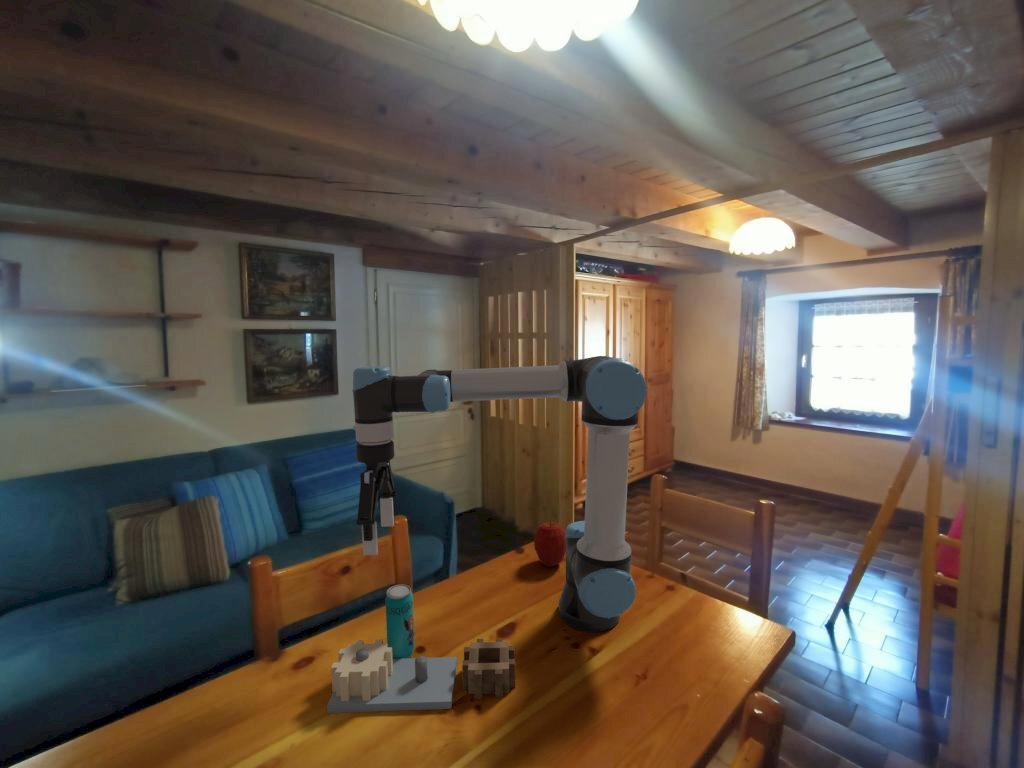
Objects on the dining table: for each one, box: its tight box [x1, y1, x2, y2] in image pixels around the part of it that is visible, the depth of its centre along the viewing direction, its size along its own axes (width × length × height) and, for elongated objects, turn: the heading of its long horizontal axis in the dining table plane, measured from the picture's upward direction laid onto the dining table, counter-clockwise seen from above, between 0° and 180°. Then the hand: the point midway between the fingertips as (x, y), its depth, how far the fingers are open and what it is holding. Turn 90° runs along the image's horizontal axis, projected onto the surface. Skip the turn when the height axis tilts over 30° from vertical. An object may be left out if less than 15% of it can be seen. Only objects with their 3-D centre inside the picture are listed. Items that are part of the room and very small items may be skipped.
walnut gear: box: [461, 637, 516, 699], centre depth 94 cm, size 10×10×5 cm
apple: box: [533, 519, 566, 568], centre depth 140 cm, size 10×10×14 cm
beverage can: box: [384, 583, 415, 659], centre depth 100 cm, size 6×6×15 cm
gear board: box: [326, 639, 458, 714], centre depth 92 cm, size 23×12×8 cm, turn 91°
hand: (379, 539), depth 98 cm, fingers open, 13 cm apart
